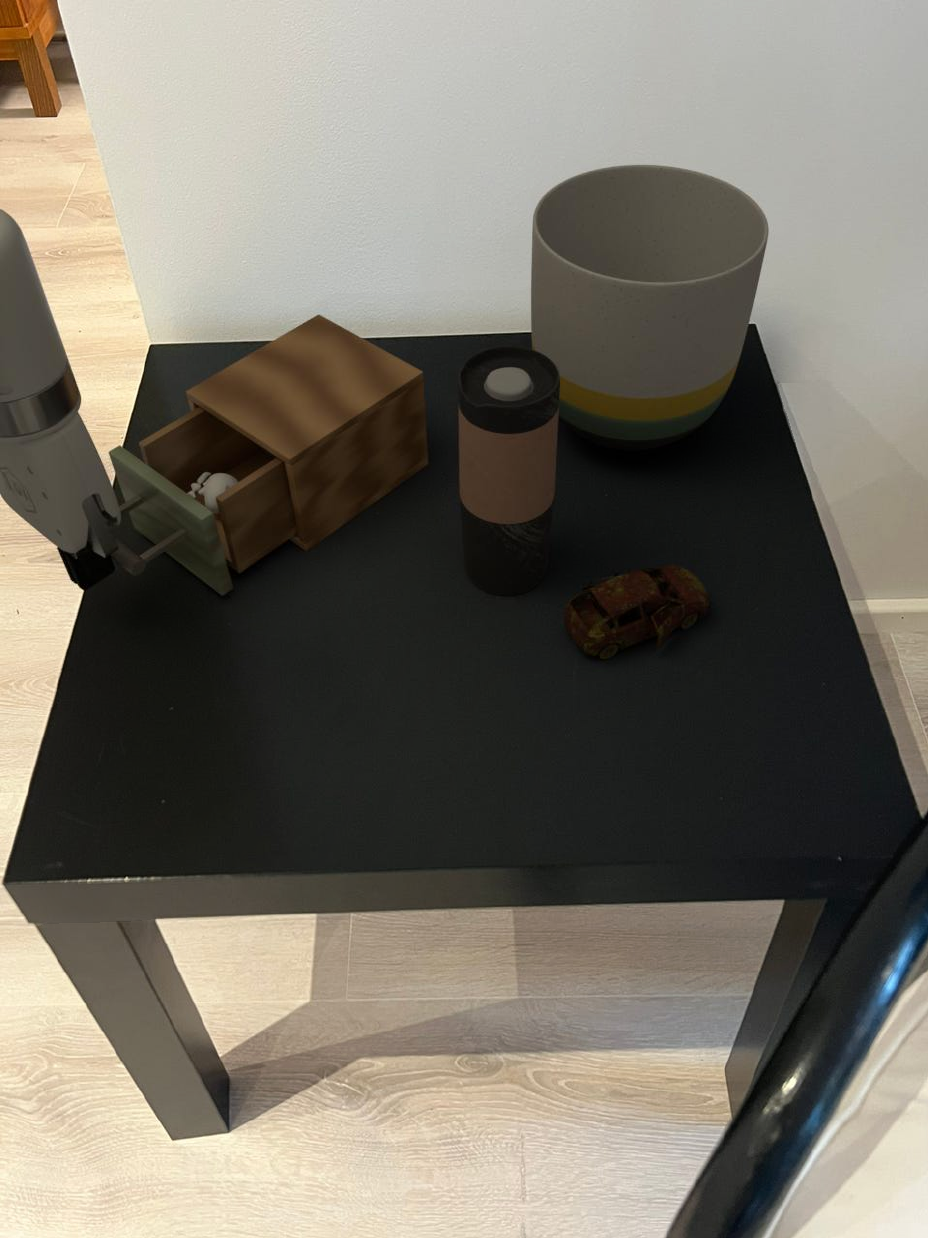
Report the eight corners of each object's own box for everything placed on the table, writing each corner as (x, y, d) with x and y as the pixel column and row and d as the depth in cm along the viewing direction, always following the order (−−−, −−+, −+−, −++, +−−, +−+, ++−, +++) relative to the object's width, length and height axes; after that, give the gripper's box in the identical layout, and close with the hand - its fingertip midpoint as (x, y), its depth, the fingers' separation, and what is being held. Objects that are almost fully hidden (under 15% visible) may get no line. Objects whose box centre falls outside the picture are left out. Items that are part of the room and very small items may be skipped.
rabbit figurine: (177, 519, 95) (263, 548, 94) (174, 489, 92) (263, 519, 91) (206, 472, 98) (289, 500, 98) (204, 442, 95) (290, 471, 95)
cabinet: (306, 551, 96) (289, 459, 88) (209, 483, 102) (185, 391, 94) (428, 464, 103) (423, 371, 95) (331, 405, 109) (318, 313, 101)
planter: (509, 374, 112) (512, 174, 96) (692, 354, 114) (725, 154, 98) (548, 501, 99) (560, 295, 83) (754, 476, 101) (804, 270, 85)
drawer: (167, 635, 89) (141, 559, 82) (80, 562, 94) (48, 486, 88) (348, 507, 98) (337, 430, 92) (258, 448, 104) (242, 372, 97)
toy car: (594, 681, 86) (599, 641, 82) (553, 620, 90) (556, 580, 86) (723, 631, 89) (733, 590, 85) (678, 575, 93) (685, 534, 89)
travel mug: (552, 537, 96) (563, 346, 81) (547, 601, 91) (559, 410, 76) (466, 532, 97) (462, 342, 82) (457, 595, 92) (451, 405, 77)
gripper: (-88, 373, 75) (3, 557, 89) (32, 467, 69) (110, 651, 83) (7, 325, 79) (80, 510, 93) (130, 410, 72) (188, 596, 86)
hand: (94, 576), depth 88 cm, fingers closed
